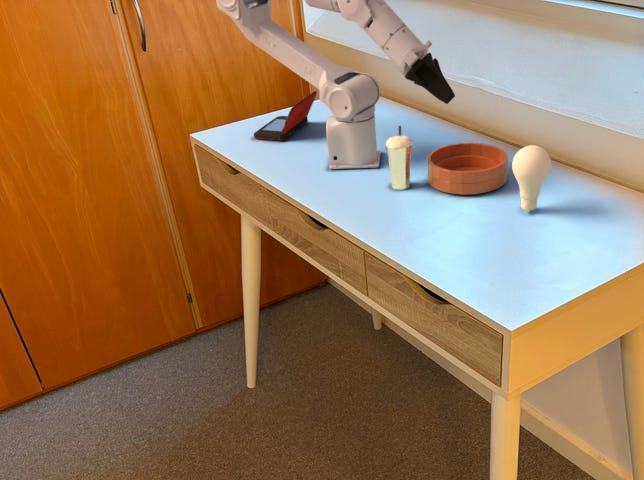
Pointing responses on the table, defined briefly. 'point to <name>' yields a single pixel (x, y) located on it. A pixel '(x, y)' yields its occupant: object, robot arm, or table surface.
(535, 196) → the lightbulb
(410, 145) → the milkshake
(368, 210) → the table surface
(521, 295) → the table surface
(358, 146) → the robot arm
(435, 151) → the bowl
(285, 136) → the handheld game console
